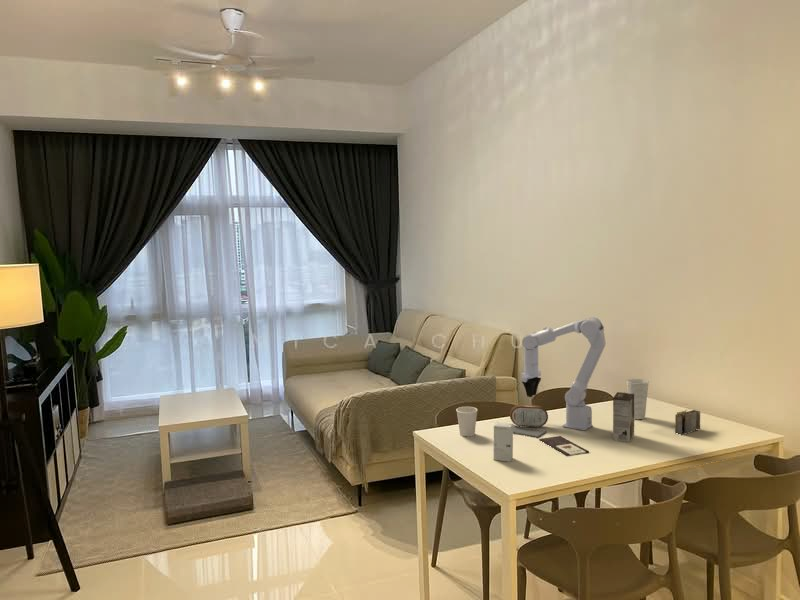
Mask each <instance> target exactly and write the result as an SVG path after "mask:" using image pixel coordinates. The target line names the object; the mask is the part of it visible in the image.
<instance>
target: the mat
mask: <svg viewBox="0 0 800 600" xmlns="http://www.w3.org/2000/svg"><path fill="white" fill-rule="evenodd" d="M513 433H514V434H515V435H520V436H524V435H525V437H529V436H530V437H531V438H535V437H536V439H538V438H540V437H542V436H543V435H545V434H546V433H547V430H544V429H537V428H534V427H532V428H531V427H528V426H517V425H515V424H513ZM544 433H545V434H544ZM514 434H513V435H514ZM541 435H542V436H541Z"/></svg>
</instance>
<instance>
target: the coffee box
mask: <svg viewBox="0 0 800 600" xmlns="http://www.w3.org/2000/svg"><path fill="white" fill-rule="evenodd" d="M612 402H613V403H612V404H613V405H612V408H613V409H612V412H613V413H612V414H613V415H612V440H613V441H618V440H619V441H618V442H625V441H627V442H626V443H631V442H632V440H633V438H634V436H635V419H634V394H629V393H628V392H621V391H618V392H616V393H615V395H614V396H613V398H612Z"/></svg>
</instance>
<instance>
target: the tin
mask: <svg viewBox="0 0 800 600" xmlns="http://www.w3.org/2000/svg"><path fill="white" fill-rule="evenodd" d="M509 419H510V420H511V422H512V424H513V425H516V426H521V427H528V428H531V427H532V428H540V427H544V426H545V425H546V424H547V422H548V420H549V414H548V411H547V410H546V409H545V407H543V406H542V405H537V404H536V405H535V404H534V405H533V404H516V405H513V407H512V408H511V409H510V410H509Z"/></svg>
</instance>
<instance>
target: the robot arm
mask: <svg viewBox="0 0 800 600" xmlns="http://www.w3.org/2000/svg"><path fill="white" fill-rule="evenodd" d="M604 331H605V326H604V325H603V323H602V322H601V320H600V319H599V318H598V317H589V318H588V319H587V318H584V319H580V320H576V321H573V322H571V323H568V324H566V325H562V326H559V327H557V328H554V329H553V328H551V327H543V328H542V330H539V331H533V332H532V333H530V334H528V335H526V336H524V337H523V338H522V339H521V344H522V347H523V351H524V352H523V365H524V366H523V371H524V372H521V378H520V379H521V383H522V385H523V387H524V389H525V392H526V393H525V394H526V397H528V398H533V396H536V395H537V392H538V387H539V385H540V382H541V381H542V378H541V376H542V371H541V370H539V347H540V346H544V345H547V344H549V343H552V342H555V341H556V339H557V337H560V336H564V335H568V334H571V333H573V332H575V333H578V334H580V333H581V334H582V335H583V336H584V337H585V338H586V339H587V340H588V343H589V345H590V347H589V348H588V349H589V350H588V351H587V354H586V356H585V357H584V360H583V362H582V364H581V367H580V370H579V371H578V373H577V376H576V378H575V380H574V382H573V383H572V385H571V387H570V388H569V390H567V391H566V392H565V394H564V401H565V403H566V404H565V407H566V409H565V413H566V417H565V418H566V419H565V423H564V424H562V427H563V428H568V429H574V430H581V431H587V430H589V428H591V427H592V426H593V422H592V421H593V416H592V415H593V411H592V409H593V408H592V407H591V406H589V405H587V404H586V401H585V400H584V399H585V398H586V397H587V388H588V387H589V386H588V384H589V382H590V379H591V378H592V376H593V373H594V371H595V369H596V366H597V364H598V362H599V360H600V358H601V355H602V354H603V352H604V349H605V347H606V344H607V343H606V338H605V332H604Z"/></svg>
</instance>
